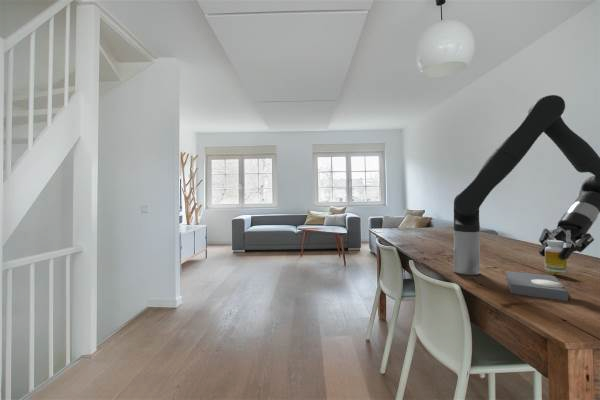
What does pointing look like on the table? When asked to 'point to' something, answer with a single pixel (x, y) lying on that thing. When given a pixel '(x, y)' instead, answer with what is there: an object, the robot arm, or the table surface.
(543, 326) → the table surface
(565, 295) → the plinth
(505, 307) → the table surface
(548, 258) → the supplement bottle
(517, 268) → the table surface
